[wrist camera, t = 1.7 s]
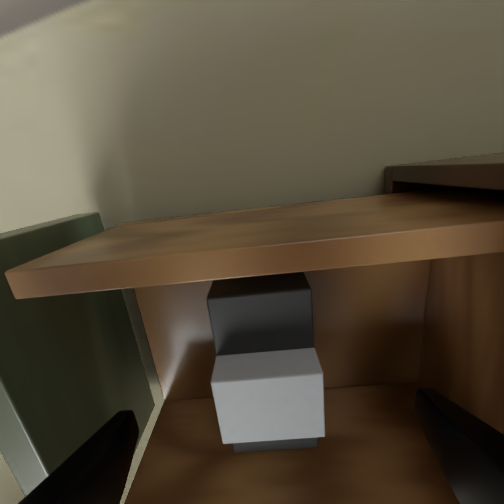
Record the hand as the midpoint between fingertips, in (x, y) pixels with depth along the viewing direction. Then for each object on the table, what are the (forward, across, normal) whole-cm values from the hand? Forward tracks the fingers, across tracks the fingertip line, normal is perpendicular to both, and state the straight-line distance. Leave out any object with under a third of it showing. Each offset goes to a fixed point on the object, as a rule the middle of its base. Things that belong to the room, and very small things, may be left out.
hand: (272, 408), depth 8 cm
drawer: (+6, +1, 0) cm, 6 cm away
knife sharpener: (+5, 0, 0) cm, 5 cm away
